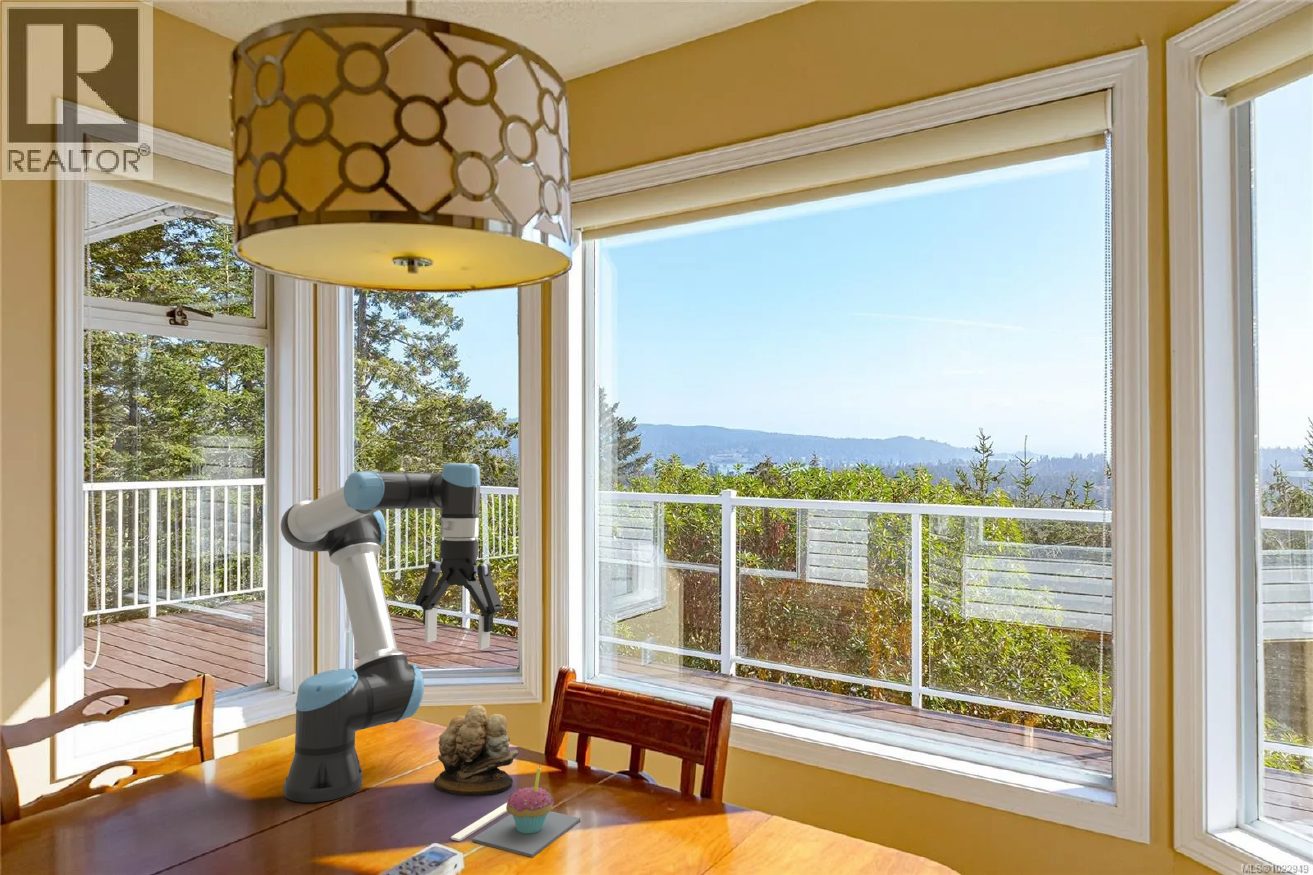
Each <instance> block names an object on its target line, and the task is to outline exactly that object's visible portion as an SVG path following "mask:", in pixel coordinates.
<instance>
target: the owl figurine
mask: <svg viewBox="0 0 1313 875" xmlns="http://www.w3.org/2000/svg"><path fill="white" fill-rule="evenodd" d="M507 724H508V723H507V718H506V716H504V715H502V714H500V713H493V714H490V715H489V716H487V709H486V708H485V707H484V706H483V705H480V704H475V705H472V706H471V707H470V708H469V709H468V710H467V712H466V714H465V715H460V714H459V715H456V716H454V717H452V719H451V720H450V722H449V724H448V726H447V727H446V729H445V730H444V731H443V732H442V733H441V734H440V735H439V739H438V751H439V755H438V756H437V759H438V760H439V762H441V763H442V765H443V767H444V770H443V771H442V772H440V773H439V775H438V776H436V778H434V782H433V786H434V788H435V789H436V791H439V792H442V793H444V792H445V794H448V795H453V796H464V797H466V796H467V797H468V796H469V797H480V796H491V795H496V794H500V793H502V792H504V791H508V789H509V788H510V787H511V786H512V785H513V783H514V780H513V778H512V776H510V775H509V773H507V772H506V771H505V770H502V769H500V767H506V766H510V765H511V764H512V763H513V762H514V759H515V758H517V756H518V755H519V751H518V750H512V751H511V750H509V747H510V740H511V738H510V737H509V734H508V731H507V726H508V725H507Z"/></svg>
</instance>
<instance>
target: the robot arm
mask: <svg viewBox="0 0 1313 875" xmlns="http://www.w3.org/2000/svg"><path fill="white" fill-rule="evenodd" d="M441 470H442V472H441V473H440V472H402V471H401V472H400V471H399V472H398V471H374V470H365V471H355V472H352V473H350V474H349V475H348V476H347V479H346V480H345V482H344V485H343V486H342V487H339V488H338V489H335V490H333V491H332V492H329V493H327V494H325V495H323V496H321V497H319V498H316V499H315V500H310V499H309V500H302V501H299V502H298V503H295V504H293V505H292V506H290V507H289V508H287V510H286V511H285V512H284V514H283V515H282V518H281V521H280V531H281V534H282V537H283V538H284V540H285V541H286V542H287V543H288V544H289V545H290V546H292V547H293V548H296V549H298V550H300V551H305V552H311V553H313V552H328V556H329V561H330V563H332V564H334V565H336V566H338V570H339V574H340V579H341V583H342V584H341V585H342V589H343V594H344V598H345V603H346V606H347V607H346V608H347V613H348V617H349V622H350V626H351V632H352V636H353V640H354V644H355V645H354V646H355V650H356V656H357V658H358V659H357V660H358V661H357V664H356V665H355V667H354V668H353V669H351V668H340V669H336V670H335V669H330V670H326V671H322V672H318V673H316V674H313V675H311V676H309V677H307V678H306V679H304V680H303V681H302V682H301V683H300V685H299V686H298V688H297V695H296V696H297V697H296V701H295V737H294V740H295V742H294V754H293V758H292V761H291V764H290V767H289V771H288V774H287V776H286V778H285V780H284V783H283V796H284V798H286V799H288V800H289V801H293V802H298V803H321V802H327V801H332V800H333V801H334V800H336V799H340V798H344V797H347V796H349V795H351V794H353V793H355V792H357V791H358V790H359V789H361V787H362V785H363V777H364V776H363V770H362V768H361V764H360V760H359V757H358V754H357V750H356V732H357V731H361V730H366V729H370V728H374V727H378V726H382V725H386V724H391V723H398V722H400V721H402V720H405V719H408V718H411V717H412V716H414V715H415V714H416V713H417V712H418V710H419V709H420V707H421V705H422V700H423V698H424V690H425V687H424V686H425V684H424V677H423V673H422V670H421V669H420V668H419V666H418V665H416V664H412V663H409V662H408V658H407V654H406V653H404V652H402V651H400V650H399V649H398V646H397V642H396V637H395V633H394V629H393V628H394V627H393V624H392V621H391V620H392V619H391V616H390V611H389V607H388V603H387V599H386V594H385V590H384V586H383V585H384V584H383V581H382V578H381V577H382V576H381V573H380V569H379V564H378V561H377V556H378V555H379V553H380V551H381V547H382V545H383V544H384V542H385V539H386V535H387V534H386V530H387V525H386V520H385V517H384V515H383V513H382V511H381V510H395V509H396V510H399V509H401V510H404V509H405V510H407V509H410V510H411V509H414V510H415V509H416V510H417V509H421V510H422V509H428V510H429V509H431V510H432V509H440V510H441V514H440V516H441V517H440V518H441V519H440V537H441V538H443V539H442V540H441V541H440V542H439V543H440V544H439V557H440V559H442V560H441V561H440V560H435V561H434V560H432V561H429V563H428V568H427V573H426V575H425V577H424V579H423V583H422V585H421V588H420V590H419V592H418V594H417V596H416V599H415V601H414V604H415V606H416V607H417V606H418V607H421V609H422V624H423V626H424V644H425V643H426V644H428V643H432V642H436V641H437V638H438V637H437V635H438V634H437V631H438V628H437V627H438V608H437V606H436V605H437V603H438V602H439V601H440V599H441V598H442V596H443V595H444V594H445V593H446V591H447V589H448V588H449V587H450V586H458V587H464V588H465V589H466V590H467V591H468V592H469V594H470V596H471V597H472V599H473V601H474V602H475V604H476V606H477V608H478V609H479V610H480V612H481V614H480V615H478V637H477V641H478V643H477V650H480V651H482V650H485V649H488V648H490V647H491V632H492V631H493V629H494V615H495V614H496V613H500V612H502V611H503V605H502V603H501V600H500V598H499V595H498V592H497V589H496V587H495V584H494V582H493V579H492V576H491V575H492V574H491V566H490V564H489V563H484V564H478V563H477V558H478V557H479V540H477V539H476V538H478V537H479V536H480V501H481V500H480V499H481V485H482V483H481V476H480V475H481V472H480V470H481V469H480V466H479V465H478V464H476V463H468V462H466V463H463V462H461V463H459V462H447V463H444V464H443V466H442V469H441ZM440 573H442V575H441V574H440ZM440 575H441V576H440ZM439 577H440V578H439ZM438 578H439V579H438Z"/></svg>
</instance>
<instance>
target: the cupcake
mask: <svg viewBox="0 0 1313 875" xmlns="http://www.w3.org/2000/svg"><path fill="white" fill-rule="evenodd" d="M541 765H542V763H540V764H539V765H538V767H537V769H536V774H535V781H534V786H531V787H530V786H529V787H521V788H518V789H516V791H514V792H513V793H511V794H510V795H509V796H508V799H507V802H506V803H507V806H506V809H507V813H508V814H509V815H510V814H512V815H513V817H514V820H515V823H516V827H517V830H518V831H519V832H521V833H525V834H531V833H536V832H539V831H540V830H541V829H542V828H543V825H544V822H545V819H546V816H547V813H549V811H551V810H553V804H554V798H553V797H552V794H550V792H548V791H547V790H546V789H544V788H541V787H540V786H539V782H540V777H541V776H540V775H541V770H542V768H541Z"/></svg>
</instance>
